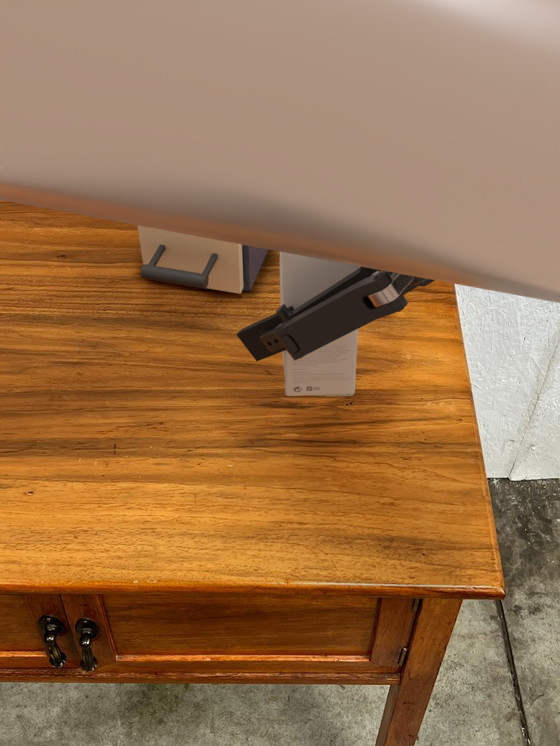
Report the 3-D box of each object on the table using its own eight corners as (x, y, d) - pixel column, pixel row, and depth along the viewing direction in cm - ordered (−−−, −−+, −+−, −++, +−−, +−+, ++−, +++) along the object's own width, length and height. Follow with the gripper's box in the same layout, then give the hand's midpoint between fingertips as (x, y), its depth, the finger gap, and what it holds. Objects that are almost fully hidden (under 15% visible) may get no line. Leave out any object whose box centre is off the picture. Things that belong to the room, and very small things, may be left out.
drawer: (226, 324, 83) (223, 267, 78) (127, 306, 85) (117, 249, 80) (271, 225, 96) (271, 170, 90) (184, 212, 98) (178, 156, 92)
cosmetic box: (355, 397, 63) (370, 248, 52) (280, 398, 63) (280, 249, 52) (347, 327, 69) (359, 180, 58) (278, 328, 69) (279, 181, 58)
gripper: (464, 365, 41) (233, 430, 58) (598, 175, 54) (375, 274, 71) (385, 249, 39) (171, 352, 56) (543, 81, 52) (329, 207, 69)
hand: (285, 309), depth 64 cm, fingers closed on cosmetic box, 10 cm apart
